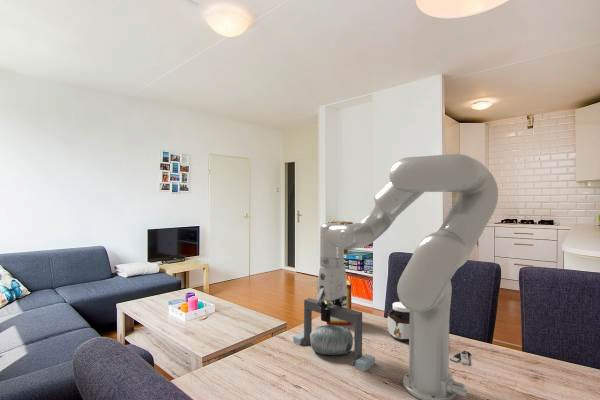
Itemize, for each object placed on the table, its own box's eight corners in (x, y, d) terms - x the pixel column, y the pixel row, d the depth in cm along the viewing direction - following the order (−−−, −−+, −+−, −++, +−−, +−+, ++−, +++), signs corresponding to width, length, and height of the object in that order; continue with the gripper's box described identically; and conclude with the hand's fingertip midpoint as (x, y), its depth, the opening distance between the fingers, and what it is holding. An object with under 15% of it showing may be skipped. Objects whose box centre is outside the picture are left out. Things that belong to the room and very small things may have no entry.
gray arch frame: (363, 360, 95) (364, 309, 95) (356, 366, 92) (356, 313, 92) (310, 340, 109) (310, 295, 109) (302, 344, 106) (302, 298, 106)
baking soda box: (349, 318, 129) (349, 279, 129) (351, 324, 123) (351, 283, 123) (326, 318, 130) (326, 279, 130) (326, 324, 123) (326, 283, 123)
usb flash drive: (463, 353, 101) (463, 349, 101) (480, 359, 97) (480, 356, 97) (449, 360, 96) (449, 357, 96) (466, 368, 92) (466, 365, 92)
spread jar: (384, 334, 114) (384, 302, 114) (406, 328, 119) (406, 298, 119) (410, 348, 103) (410, 313, 103) (433, 341, 109) (433, 307, 109)
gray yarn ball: (355, 335, 105) (347, 314, 101) (357, 361, 97) (349, 339, 93) (315, 341, 108) (307, 320, 104) (314, 366, 100) (305, 345, 96)
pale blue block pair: (374, 363, 94) (374, 356, 94) (364, 371, 89) (364, 364, 89) (304, 336, 112) (304, 331, 112) (293, 342, 107) (293, 336, 107)
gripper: (325, 267, 91) (324, 330, 91) (356, 259, 104) (355, 314, 104) (305, 264, 96) (305, 323, 96) (337, 256, 109) (337, 309, 109)
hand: (331, 318), depth 100 cm, fingers open, 5 cm apart
